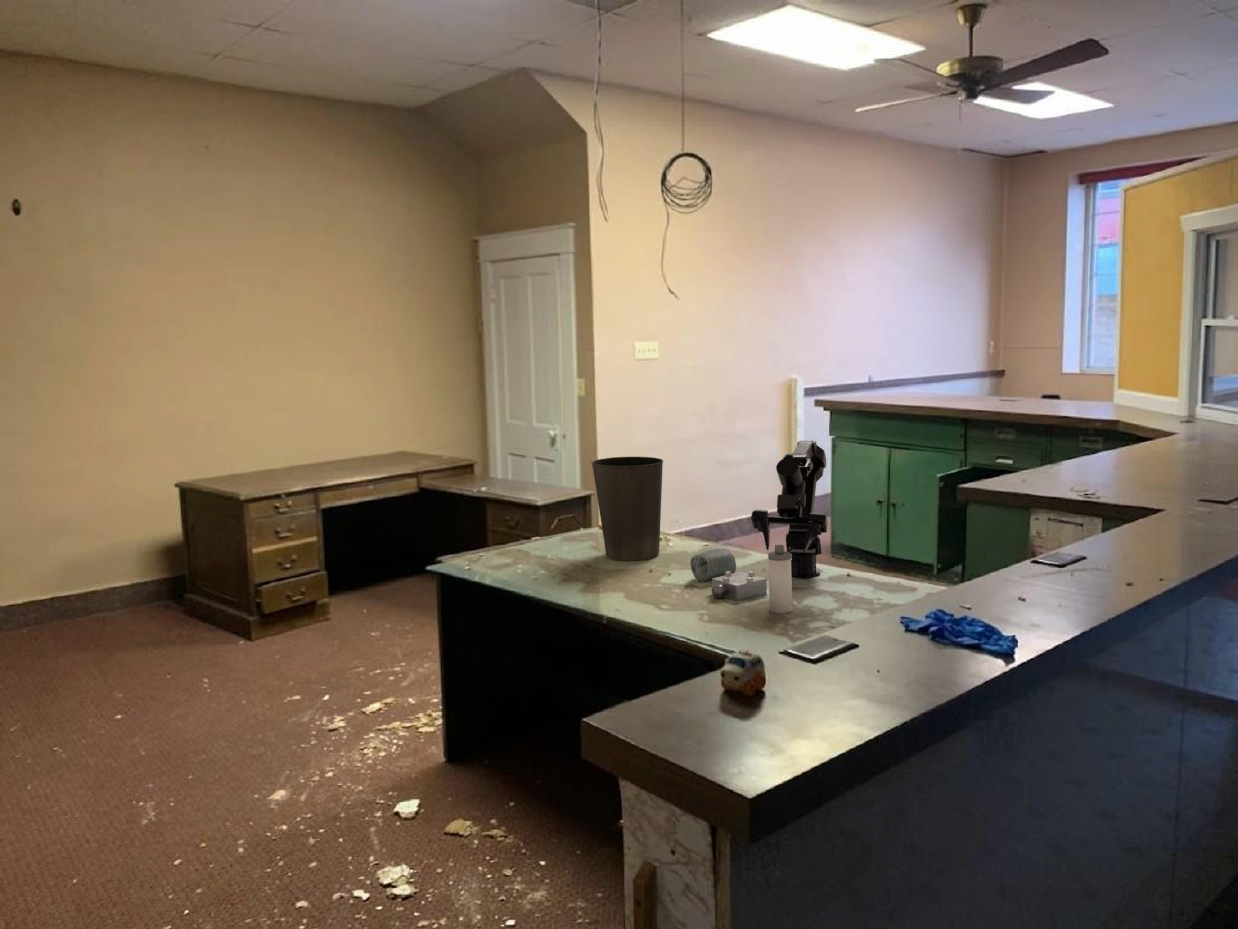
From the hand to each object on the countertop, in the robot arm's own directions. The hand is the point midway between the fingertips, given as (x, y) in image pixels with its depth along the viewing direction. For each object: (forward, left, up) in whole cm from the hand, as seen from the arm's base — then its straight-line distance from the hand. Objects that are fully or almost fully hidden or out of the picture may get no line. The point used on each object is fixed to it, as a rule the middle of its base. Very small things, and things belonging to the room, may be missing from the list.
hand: (785, 550), depth 231 cm
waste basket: (+1, -70, -13) cm, 71 cm away
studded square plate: (+6, -13, -13) cm, 19 cm away
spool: (0, -30, -13) cm, 33 cm away
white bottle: (+7, +5, -13) cm, 15 cm away
